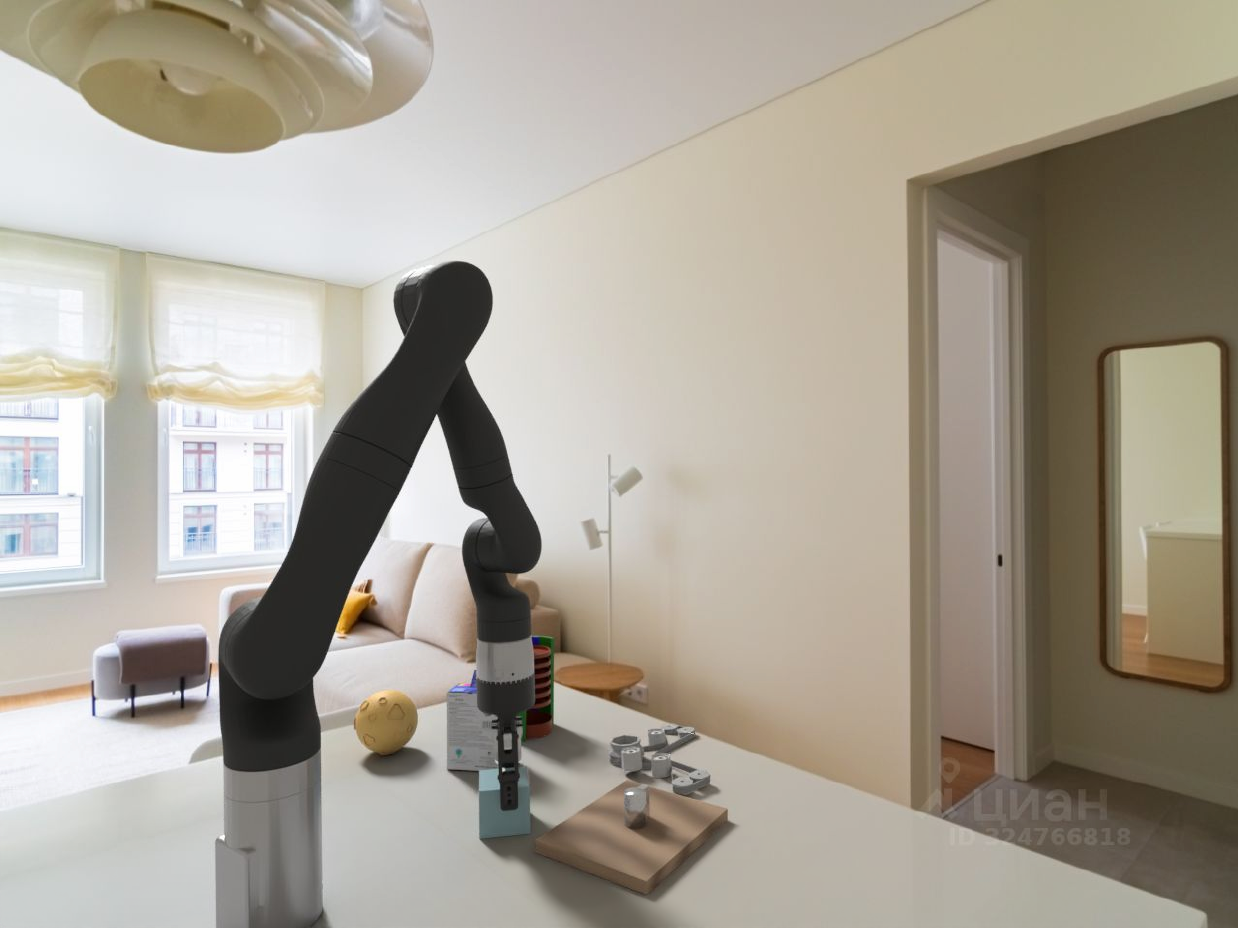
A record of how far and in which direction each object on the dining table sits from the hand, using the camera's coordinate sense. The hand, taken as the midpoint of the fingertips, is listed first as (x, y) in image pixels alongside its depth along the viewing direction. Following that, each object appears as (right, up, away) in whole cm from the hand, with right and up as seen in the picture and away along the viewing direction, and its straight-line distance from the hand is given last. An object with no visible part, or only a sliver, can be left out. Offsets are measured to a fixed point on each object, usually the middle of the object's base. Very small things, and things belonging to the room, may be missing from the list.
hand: (508, 793), depth 96 cm
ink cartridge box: (-7, -4, +19) cm, 21 cm away
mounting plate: (+17, -4, -3) cm, 17 cm away
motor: (-2, -4, +34) cm, 34 cm away
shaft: (+17, -2, -3) cm, 17 cm away
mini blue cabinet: (-1, -4, 0) cm, 4 cm away
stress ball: (-24, -4, +24) cm, 34 cm away
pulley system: (+20, -5, +20) cm, 29 cm away
